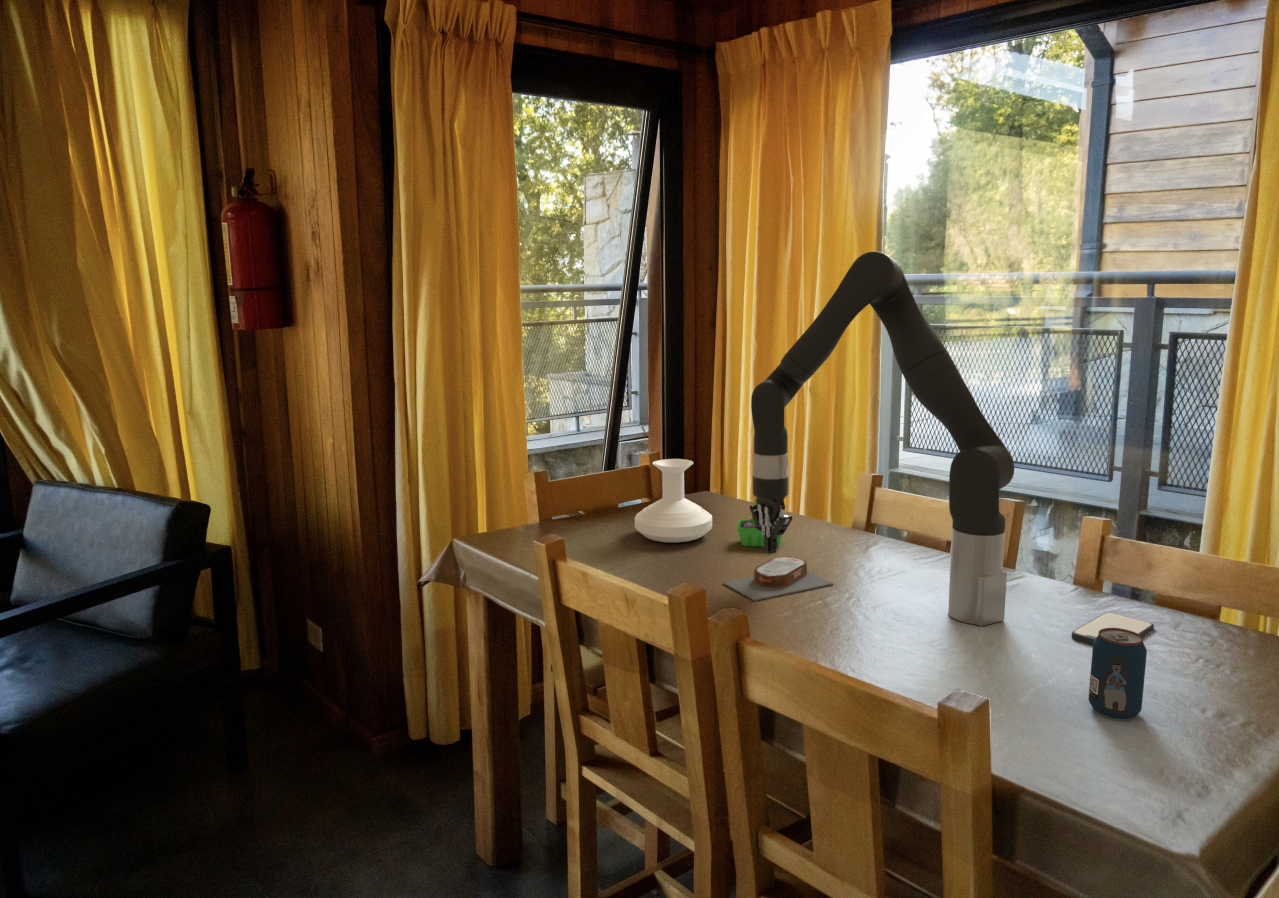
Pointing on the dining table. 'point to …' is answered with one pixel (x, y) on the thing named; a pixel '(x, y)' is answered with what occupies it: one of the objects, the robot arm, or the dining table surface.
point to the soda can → (1117, 674)
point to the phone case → (1110, 626)
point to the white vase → (673, 509)
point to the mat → (761, 592)
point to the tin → (780, 572)
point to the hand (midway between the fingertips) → (770, 552)
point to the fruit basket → (752, 533)
